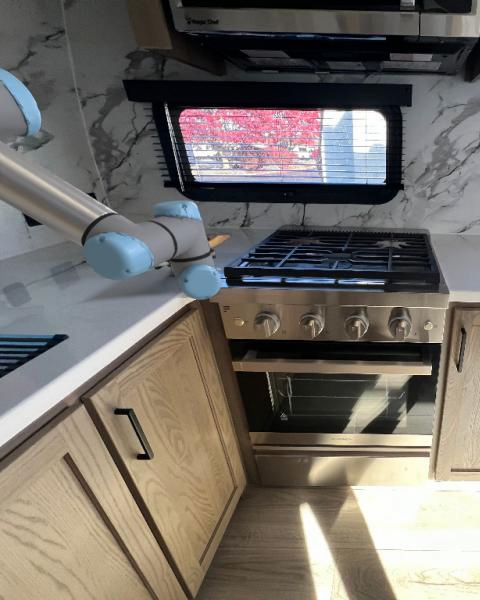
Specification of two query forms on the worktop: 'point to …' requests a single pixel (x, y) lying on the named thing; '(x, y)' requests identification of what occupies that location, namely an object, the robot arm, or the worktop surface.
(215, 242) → the brown wooden board
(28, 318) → the worktop surface
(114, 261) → the robot arm
